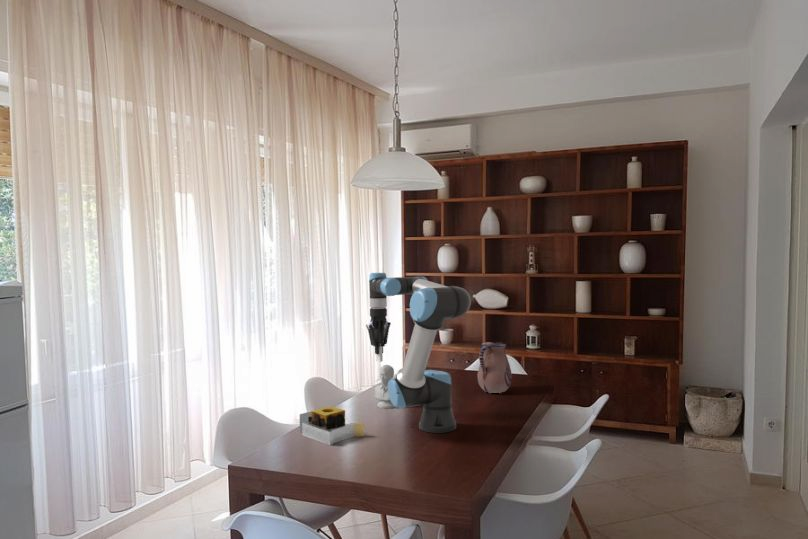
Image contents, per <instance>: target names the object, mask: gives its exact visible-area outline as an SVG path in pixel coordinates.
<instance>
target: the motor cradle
mask: <svg viewBox="0 0 808 539" xmlns="http://www.w3.org/2000/svg"><path fill="white" fill-rule="evenodd" d="M299 432H301V434H302V436H303V437H305V438H309V439H311V440H314V441H317V442H318V443H319V442H320V443H322V444H325V445H328V446H332V445H334V443H335V444H336V443H339V442H341V440H342V441H344V439H345V440H347V439H348V440H349V439H350V438H355V437H364V436H365V427H364V422H350V423H347V424H346V423H345V425H343V426H340V427H336V428H333V429H329V430H328V429H325V428H322V427H319V426H316V425H313V424H312V423H311V411H308V412H304V413H300V414H299Z"/></svg>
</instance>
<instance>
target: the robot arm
mask: <svg viewBox="0 0 808 539" xmlns="http://www.w3.org/2000/svg"><path fill="white" fill-rule="evenodd" d="M368 276H369V281H368V286H369V307H370V308H369V316H370V322H369V323H368V324H366V325H365V327H366V329H367V332H368V336H369V342H370V345H371V346H373V347H374V354H375V361H376V362H380V363H381V362H383V361H384V360H383V359H384V358H383V353H384V347H385V346H386V345H387V344H388V338H389V331H390V327H391V324H392V323H391V322H389V321H388V319H387V316H388V309H387V305H388V304H387V303H388V300H387V299H388V298H387V297H394V296H402V295H411V297H410V302H409V314H410V317H411V319H412V321H413V323H414V326H413V328H412V329H413V330H412V333H411V337H410V340H409V344H408V348H407V351H406V355H405V358H404V362H403V365H402V368H400V369H398V370H397V373H396V376H395V377H393V378H392V379H390V380H389V382H388V394H389V398H390V400H391V402H392V404H393V405H394V408H396V409H406V408H411V407H417V406H422V412H421V415H420V420H419V422H418V428H419V430H421V431H422V432H427V433H430V434H431V433H432V434H444V433H450V432H453V431H455V430H456V429H457V420H456V418H455V416H454V412H453V408H452V384H453V383H452V376H451V374H450V373H449V372H446V371H442V370H435V369H427V365H428V362H429V358H430V355H431V352H432V350H433V349H432V348H433V345H434V344H435V339H436V335H437V333H438V331H439V330H441V329H442V328H443V326H444V323H445V321H446V320H450V319H451V320H452V319H458V318H460V317H463V316H464V315H466V313H468V311H469V310H470V308H471V305H472V298H471V295H470V293H469V292H468V291H467V290H466V289H465V288H463V287H459V286H455V285H450V286H446V285H443V284H440V283H436V282H433V281H429V279H428V278H427V277H425V276H420V275H418V276H408V277H407V276H404V277H403V276H401V277H400V276H397V277H387V274H386V272H371V273H369V275H368Z"/></svg>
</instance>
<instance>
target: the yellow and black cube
mask: <svg viewBox="0 0 808 539" xmlns="http://www.w3.org/2000/svg"><path fill="white" fill-rule="evenodd" d="M310 412H311V423H312V424H313V425H316V426H319V427H322V428H325V429H328V430H329V429H333V428H336V427H340V426H343V425H346V410H345V409H341V408H338V407H334V406H331V405H330V406H326V407H321V408H317V409H314V410H310Z"/></svg>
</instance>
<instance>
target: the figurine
mask: <svg viewBox="0 0 808 539" xmlns="http://www.w3.org/2000/svg"><path fill="white" fill-rule="evenodd" d="M394 375H395V370H394V367H393V366H391V365H390V364H385V365H382V366H380V369H379V379H380V382H381V384H379V385H377V386H375V388H374V398H375V399H377V400H379V402H378V403H377V405H376V406H377V408H380V409H394V408H395V407H394V405H393V404H392V402H391V400H390V398H389V394H388V382H389V380H390V379H392V378H394Z"/></svg>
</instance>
